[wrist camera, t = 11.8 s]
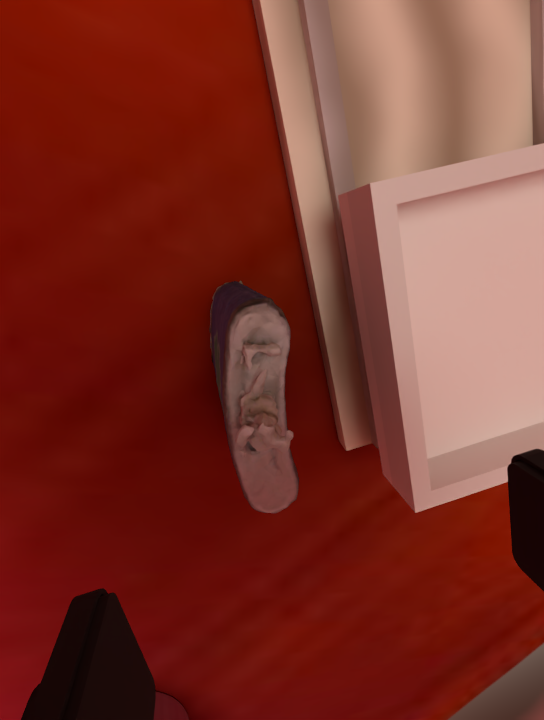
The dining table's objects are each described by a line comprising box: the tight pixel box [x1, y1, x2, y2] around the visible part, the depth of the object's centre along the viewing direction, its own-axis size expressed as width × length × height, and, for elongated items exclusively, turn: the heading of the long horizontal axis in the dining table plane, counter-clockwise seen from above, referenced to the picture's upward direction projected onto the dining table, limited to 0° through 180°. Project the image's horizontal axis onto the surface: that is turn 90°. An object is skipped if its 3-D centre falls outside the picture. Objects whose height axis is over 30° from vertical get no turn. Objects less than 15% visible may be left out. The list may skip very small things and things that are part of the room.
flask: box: [210, 281, 299, 513], centre depth 20 cm, size 10×3×12 cm, turn 5°
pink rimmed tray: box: [338, 143, 544, 513], centre depth 22 cm, size 16×16×6 cm
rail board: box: [252, 0, 544, 451], centre depth 23 cm, size 18×34×2 cm, turn 14°
